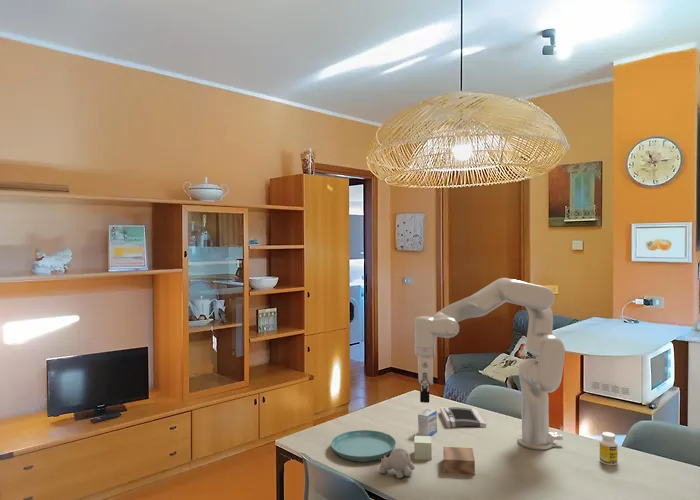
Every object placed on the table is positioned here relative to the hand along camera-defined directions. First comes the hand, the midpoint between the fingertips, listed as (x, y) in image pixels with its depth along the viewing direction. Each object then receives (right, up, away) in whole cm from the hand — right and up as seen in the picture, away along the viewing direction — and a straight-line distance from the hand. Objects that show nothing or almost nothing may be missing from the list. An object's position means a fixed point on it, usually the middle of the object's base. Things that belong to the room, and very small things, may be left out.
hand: (424, 397), depth 179 cm
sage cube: (-1, -21, 0) cm, 21 cm away
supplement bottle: (+62, -20, -9) cm, 65 cm away
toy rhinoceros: (-12, -22, -14) cm, 28 cm away
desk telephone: (+21, -20, +33) cm, 44 cm away
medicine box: (+4, -20, +19) cm, 28 cm away
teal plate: (-22, -22, +6) cm, 31 cm away
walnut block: (+10, -21, -10) cm, 25 cm away
